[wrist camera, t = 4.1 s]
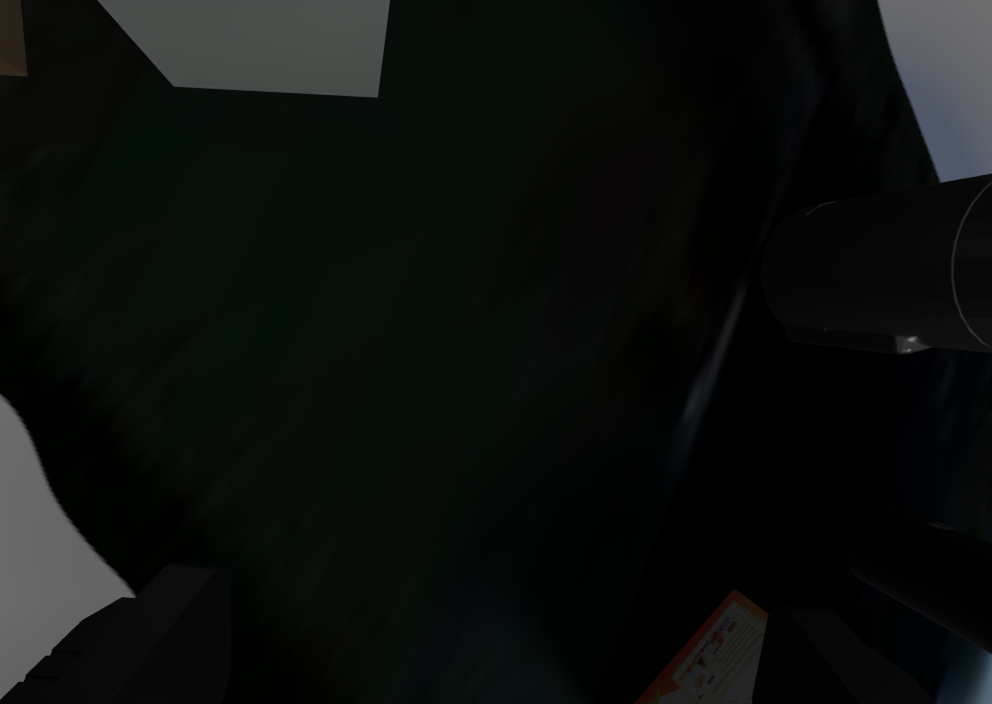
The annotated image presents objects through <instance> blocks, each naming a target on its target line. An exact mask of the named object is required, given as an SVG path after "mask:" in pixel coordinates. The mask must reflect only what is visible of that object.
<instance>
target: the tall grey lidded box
mask: <svg viewBox="0 0 992 704" xmlns="http://www.w3.org/2000/svg"><path fill="white" fill-rule="evenodd" d="M98 1H99V2H100V3H101V5H102V6H103V7H104V8H105V9H106V10H107V11H108V13H109V14H110V15H111V16H112V17H113V18H114V19H115V20H116V22H117V23H118V24H119V25H120V26H121V27H122V28H123V29H124V31H125V32H126V33H127V34H128V35H129V36H130V37H131V38H132V40H133V41H134V42H135V43H136V44H137V45H138V46H139V48H140V49H141V50H142V51H143V52H144V53H145V54H146V55H147V57H148V58H149V59H150V60H151V61H152V62H153V63H154V64H155V66H156V67H157V68H158V69H159V70H160V71H161V72H162V73H163V75H164V76H165V77H166V78H167V79H168V80H169V81H170V83H171V84H172V85H173V86H176V87H194V88H213V89H231V90H250V91H268V92H287V93H305V94H324V95H342V96H361V97H378V90H379V82H380V74H381V66H382V58H383V50H384V42H385V34H386V26H387V18H388V10H389V2H390V0H98Z"/></svg>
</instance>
